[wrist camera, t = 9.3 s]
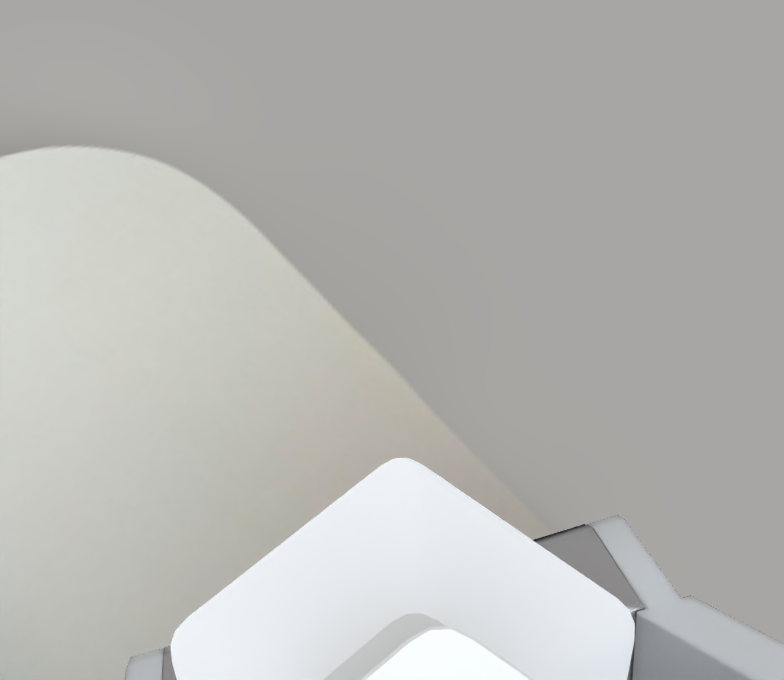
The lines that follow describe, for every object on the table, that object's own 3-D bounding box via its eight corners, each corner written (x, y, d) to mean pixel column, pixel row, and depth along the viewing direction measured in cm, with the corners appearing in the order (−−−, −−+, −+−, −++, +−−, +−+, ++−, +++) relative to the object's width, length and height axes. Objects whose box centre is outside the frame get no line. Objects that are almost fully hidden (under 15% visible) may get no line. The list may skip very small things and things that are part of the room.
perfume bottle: (356, 726, 18) (394, 1620, 3) (253, 581, 19) (-80, 810, 4) (495, 605, 19) (996, 907, 4) (392, 471, 20) (523, 338, 5)
